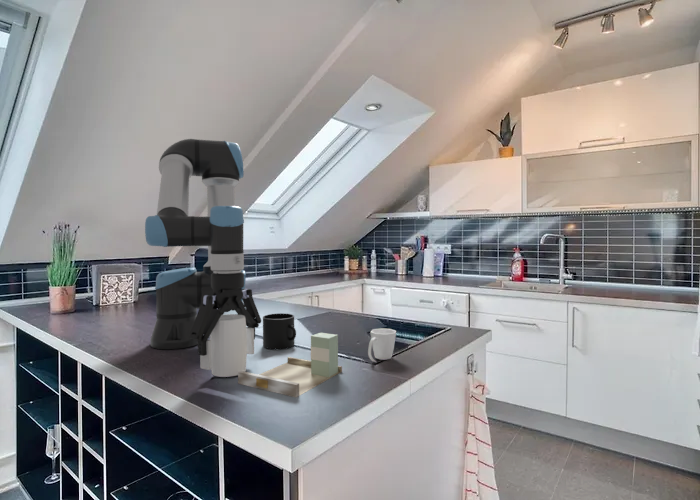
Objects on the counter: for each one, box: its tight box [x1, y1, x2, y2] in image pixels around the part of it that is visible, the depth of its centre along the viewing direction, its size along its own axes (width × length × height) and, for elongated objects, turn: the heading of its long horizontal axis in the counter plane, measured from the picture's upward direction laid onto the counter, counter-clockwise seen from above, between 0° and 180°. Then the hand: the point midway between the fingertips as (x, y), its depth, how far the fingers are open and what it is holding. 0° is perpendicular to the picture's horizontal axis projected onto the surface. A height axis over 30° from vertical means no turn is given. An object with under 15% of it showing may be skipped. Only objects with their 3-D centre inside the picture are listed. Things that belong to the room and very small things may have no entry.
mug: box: [262, 313, 297, 350], centre depth 123 cm, size 9×12×9 cm
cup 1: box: [209, 313, 248, 378], centre depth 97 cm, size 8×8×14 cm
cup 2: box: [367, 327, 397, 363], centre depth 107 cm, size 7×10×8 cm
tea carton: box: [310, 332, 339, 377], centre depth 96 cm, size 5×4×9 cm
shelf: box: [237, 356, 343, 398], centre depth 94 cm, size 16×18×3 cm
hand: (228, 360), depth 97 cm, fingers open, 13 cm apart
